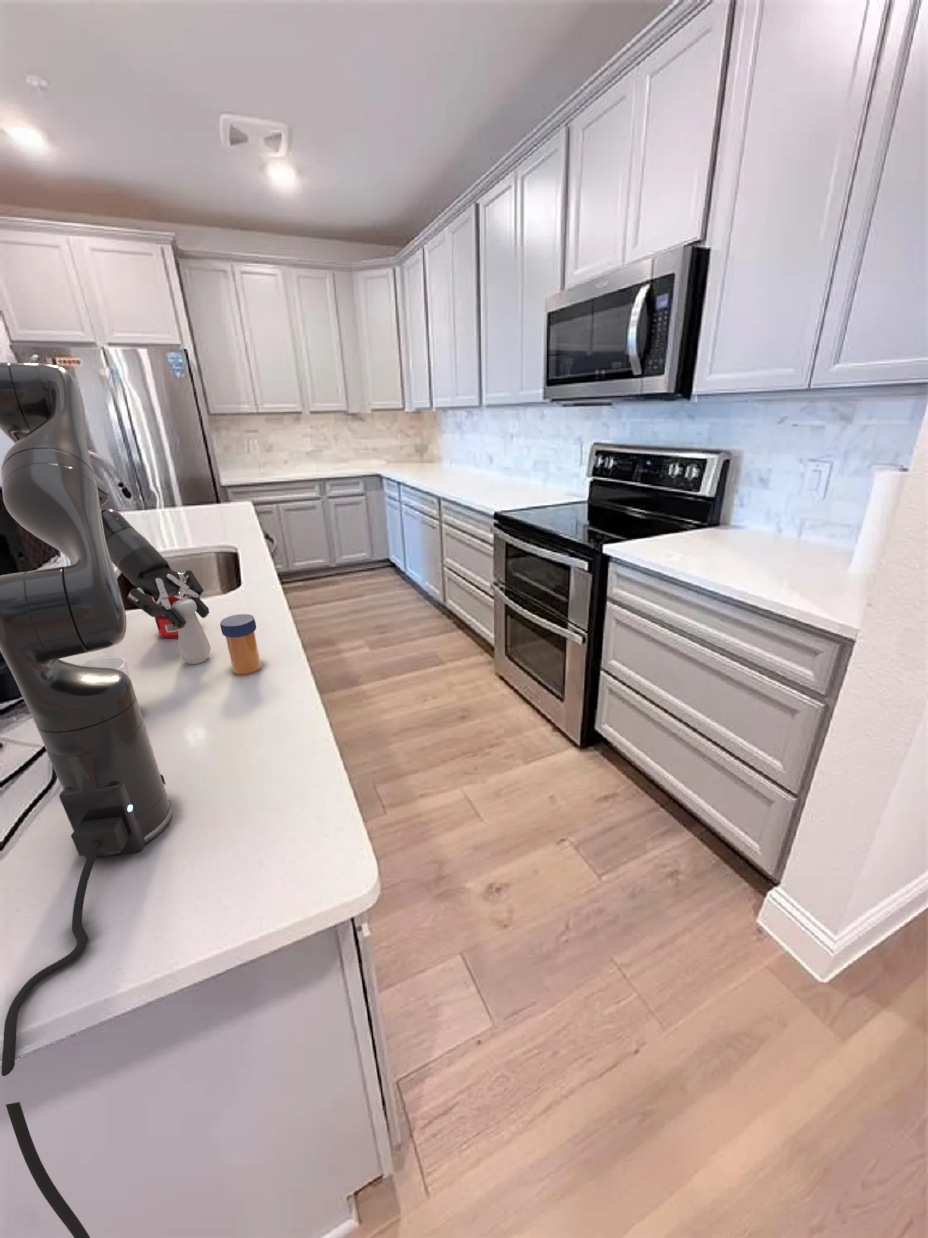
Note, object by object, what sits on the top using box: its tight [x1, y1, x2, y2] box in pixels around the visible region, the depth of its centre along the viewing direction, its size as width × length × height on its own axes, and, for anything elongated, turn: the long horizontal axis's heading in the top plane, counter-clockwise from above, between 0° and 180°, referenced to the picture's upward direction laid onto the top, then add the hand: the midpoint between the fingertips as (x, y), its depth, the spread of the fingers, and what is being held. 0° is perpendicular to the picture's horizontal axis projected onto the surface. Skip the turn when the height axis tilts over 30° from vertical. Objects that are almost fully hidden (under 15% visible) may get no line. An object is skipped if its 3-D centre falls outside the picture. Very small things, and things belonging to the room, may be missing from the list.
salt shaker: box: [172, 599, 212, 665], centre depth 103 cm, size 6×6×13 cm
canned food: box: [148, 589, 191, 639], centre depth 116 cm, size 8×8×11 cm
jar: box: [225, 631, 262, 675], centre depth 99 cm, size 5×5×10 cm
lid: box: [219, 613, 257, 638], centre depth 98 cm, size 6×6×2 cm
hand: (195, 620), depth 101 cm, fingers open, 5 cm apart
